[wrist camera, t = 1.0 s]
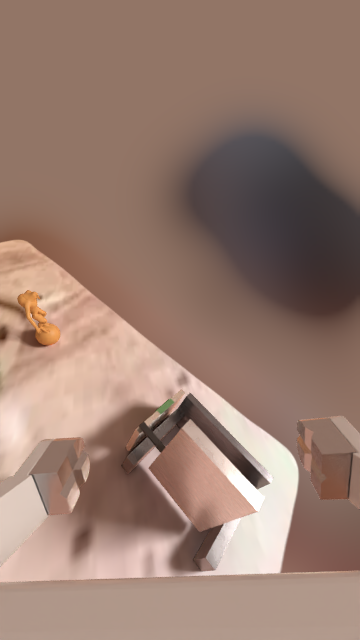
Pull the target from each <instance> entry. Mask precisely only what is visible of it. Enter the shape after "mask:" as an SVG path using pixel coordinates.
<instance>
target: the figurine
mask: <svg viewBox="0 0 360 640" xmlns="http://www.w3.org/2000/svg"><path fill="white" fill-rule="evenodd" d="M37 298H39V299H40V297H39V296H38V293H36V292H31V291H29V290H27V291H26V292H25V293H24V294H20V295H19V296H18V298H17V300H18V303H19V304H20V305H21V306H22V307H24V308H25V312H26V317H27V319H28V320H29V321H30V323H31V324H32V325H33V326H34V327H35V329H36V334H35V335H36V339H37V341H38V342H39V343H41V344H43V345H52V344H55V343H56V342H57V341H58V340H59V338H60V330H59V329H58V327H57V326H55V325H53V324H49V323H46V322H47V320H46V319H45V318H44V317H45V316H46V312H45V311H43V310H41V309H40V308H39V307H38V306H37V300H36V299H37ZM30 313H31V314H32V318H33V319H35V320H37V321H39V322H40V323H38V327H39V328H38V327H37V325H36V323H35V322H34V321H33V320H32V318H31V317H30Z"/></svg>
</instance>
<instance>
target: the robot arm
mask: <svg viewBox="0 0 360 640" xmlns="http://www.w3.org/2000/svg"><path fill="white" fill-rule="evenodd" d="M297 431H298V432H299V434H300V436H299V437H298V438H297V450H298V454H299V458H300V460H301V463H302V465H303V467H304V468H305V469H306V470H307V471H309V472H310V473H311V476H310V477H311V478H310V481H311V482H312V484H313V486H314V488H315V490H316V492H317V494H318V496H319V498H320V499H321V500H330V499H349V501H350V502H351V503H352V504H353V505H355V506H356V507H357V508H358V509H359V510H360V434H359V433H358V432H357V431H356V430H355V428H354V427H353V426H352V425H351V424H350V423H349V422H348V421H347V419H346V418H345V417H343V416H336V417H327V418H318V419H306V420H298V422H297ZM84 447H85V443H84V440H83V438H80V437H78V438H59V439H45V440H42V441H41V442H40V443H39V444H38V445H37V446H36V448H35V449H34V450H33V452H32V453H31V454H30V455H29V457H28V458H27V459H26V461H25V462H24V463H23V464H22V466H21V467H20V468H19V470H18V471H17V472H16V473H15V475H14V476H11V477H8V478H6V479H5V480H4V481H2V482H1V483H0V567H1V566H2V565H3V564H4V563H5V562H6V561H7V560H8V559H9V558H10V557H11V555H12V554H13V553H14V552H15V551H16V550H17V549H18V548H19V547H20V546H21V545H22V544H23V543H24V542H25V541H26V540H27V539H28V537H29V536H30V535H31V534H32V533H33V532H34V531H35V530H36V529H37V528H38V527H39V526H40V525H41V524H42V523H43V522H44V521H45V519H46V518H47V517H48V515H58V514H69V513H72V511H73V509H74V507H75V504H76V502H77V500H78V498H79V496H80V492H79V488H80V487H81V486H82V485H83V484H84V483H85V482H86V480H87V477H88V475H89V469H90V460H89V456H88V454H87V453H85V452H84V451H83V449H84ZM0 640H360V571H338V572H337V571H335V572H304V573H274V574H244V575H215V576H184V577H153V578H122V579H91V580H60V581H28V582H0Z"/></svg>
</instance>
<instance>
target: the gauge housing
mask: <svg viewBox="0 0 360 640" xmlns="http://www.w3.org/2000/svg"><path fill="white" fill-rule="evenodd" d="M184 394H185V392H184V391H183V390H182V389H181V390H180V391H179V392H178V393H177V394H176V395H174V396H173V397H172V398H171V399H170V400H169V399H168V400H167V401H166V402H165V403H164V404H163V405H162V406H160V407H159V408H158V409H157V410H156V411H155V413H154V414H153V415H151V416H150V417H149V418H148V419H147V420H146V421H145V423H146V425H147V426H148V427H149V428H150V429H151V430H153V429H154V428H155V427H156V426H157V425H158V424H159V423H160V422H162V421H163V420H164V419H165V418H166V417H167V416H168V415H169V414H170V413H171V412H172V411H173V409H174V408H175V406H176V405H177V404H178V402H179V401H180V399H181V398H182V396H183V395H184ZM190 419H191V420H192V421H193V422H194V423H195V425H196V426H197V427H198V428H199V429H200V430H201V431H202V432H203V433H204V434H205V435H206V436H207V437H208V438H209V439H210V441H211V442H212V443H213V444H214V445H215V446H216V447H217V448H218V449H219V450H220V451H221V452H222V453H223V454H224V455H225V457H226V458H227V459H228V460H229V461H230V462H231V463H232V464H233V465H234V466H235V467H236V468H237V469H238V470H239V471H240V473H241V474H242V475H243V476H244V477H245V478H246V479H247V480H248V481H249V482H250V483H251V484H252V485H253V486H254V488H255V489H256V490H257V489H259V488H261V487H263V486H265V485H268V484H270V483H271V481H272V479H273V477H272V476H271V475H270V474H269V473H268V472H267V471H266V469H265V468H264V467H263V466H262V465H261V464H260V463H259V462H258V461H257V460H256V459H255V458H254V457H253V456H252V455H251V454H250V453H249V452H248V451H247V450H246V449H245V448H244V447H243V446H242V445H241V444H240V443H239V442H238V441H237V440H236V439H235V438H234V437H233V436H232V435H231V434H230V433H229V432H228V431H227V430H226V429H225V428H224V427H223V426H222V425H221V424H220V423H219V422H218V421H217V420H216V419H215V417H214V416H213V415H212V414H211V413H210V412H209V411H208V410H207V409H206V408H205V407H204V406H203V405H202V404H201V403H200V402H199V401H198V400H197V399H196V398H195V397H194V396H193V395H192V394H191V393H190V394H189V395H188V396H186V398H185V399H184V401H183V402H182V403H181V405H180V406H179V408H178V409H177V410H176V411H175V412H173V413H172V414H171V415H170V416H169V417H168V418H167V419H166V420H165V421H164V422H163V423H162V424H161V425H160V426H159V427H158V428H157V429H155V430H154V431H153V433H154V434H155V435H156V436H157V438H158V439H159V440H160V441H161V440H162V439H163V438H164V437H165V436H166V435H167V434H168V433H169V432H170V431H171V430H172V429H173V428H174V427H175V426H176V425H177V426H178V427H179V428H180V429H181V428H182V427H183V426H184V425H185V424H186V423H187V422H188V421H189V420H190ZM145 436H146V435H145V433H144V432H143V431H142V430H141V429H140V427H138V428H136V429H135V431H134V433H133V435H132V437H131V439H130V440H129V442H128V444H127V446H126V449H127V450H128V452H129V451H130V450H132V449H133V448H134V447H135V446H136V445H137V444H138V443H139V442H140V441H141V440H142V439H143V438H144V437H145ZM154 447H155V445H154V444H153V443H152V442H151V441H150V439H149V438H148V437H147V438H146V439H145V440H144V441H143V442H142V443H141V444H140V445H138V446H137V447H136V448H135V449H134V450H133V451H132V452H131V453H130V454H129V455H128V456H127V457H126V459H125V460H124V462H123V464H122V465H121V466H122V467H123V469H124V470H125V471H126V473H127V474H129V473H130V472H131V471H132V470H133V469H134V468H135V467H136V466H137V465H138V464H139V463H140V462H141V461H142V460H143V459H144V457H145V456H146V455H147V454H148V453H149V452H150V451H151V450H152V449H153V448H154ZM240 519H241V518H238V519H235V520H233V521H230V522H227V523H224V524H221V525H218V526H215V527H213V528H211V529H210V531H209V533H208V535H207V536H206V538H205V540H204V542H203V543H202V545H201V547H200V549H199V550H198V552H197V554H196V556H195V557H194V559H193V561H194V562H195V563H196V565H197V566H198V567H199V569H200V570H201V571H213V570H216V568H217V566H218V564H219V562H220V560H221V558H222V556H223V554H224V552H225V550H226V548H227V546H228V544H229V542H230V540H231V538H232V535H233V533H234V531H235V529H236V527H237V525H238V523H239V521H240Z"/></svg>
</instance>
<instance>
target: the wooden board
mask: <svg viewBox="0 0 360 640" xmlns="http://www.w3.org/2000/svg"><path fill="white" fill-rule="evenodd" d="M139 427H140V429H141V430H142V431H143V432H144V433H145V435H146V436H147V437H148V438H149V439H150V441H151V442H152V443H153V444H154V445H155V446H156V448H157V449H158V450H159V451H160V452H161V453H160V455H159V456H158V457H157V458H156V459H155V461H154V462H153V463H152V464H151V465H150V467H149V470H150V471H151V472H152V473H153V475H154V476H155V477H156V478H157V480H158V481H159V482H160V483H161V485H162V486H163V487H164V488H165V490H166V491H167V492H168V493H169V495H170V496H171V497H172V498H173V500H174V501H175V502H176V503H177V505H178V506H179V507H180V508H181V510H182V511H183V512H184V513H185V515H186V516H187V517H188V518H189V520H190V521H191V522H192V523H193V525H194V526H195V527H196V529H197V530H198V531H199V532H201V531H204V530H207V529H210V528H213V527H215V526H218V525H221V524H224V523H227V522H230V521H233V520H235V519H238V518H241V517H244V516H247V515H250V514H252V513H255V512H258V510H259V508H260V506H261V504H262V501H263V499H264V497H263V496H262V495H261V494H260V493H259V492H258V491H257V490H256V489H255V488H254V486H253V485H252V484H251V483H250V482H249V481H248V480H247V479H246V478H245V477H244V476H243V475H242V474H241V473H240V471H239V470H238V469H237V468H236V467H235V466H234V465H233V464H232V463H231V462H230V461H229V460H228V459H227V458H226V457H225V455H224V454H223V453H222V452H221V451H220V450H219V449H218V448H217V447H216V446H215V445H214V444H213V443H212V442H211V441H210V439H209V438H208V437H207V436H206V435H205V434H204V433H203V432H202V431H201V430H200V429H199V428H198V427H197V426H196V425H195V423H194V422H193V421H192V420H191V419H190V420H189V421H188V422H187V423H186V424H185V425H184V426H183V427H182V428H181V429H180V431H179V432H178V433H177V434H176V435H175V437H174V438H173V439H172V440H171V441H170V443H169V444H168V445H167V446H166V447H165V446H164V445H163V443H162V442H161V441H160V440H159V439H158V438H157V436H156V435H155V434H154V433H153V432H152V430H151V429H150V428H149V427H148V426H147V425H146V423H145V422H143V423H142V424H141V425H139Z"/></svg>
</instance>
